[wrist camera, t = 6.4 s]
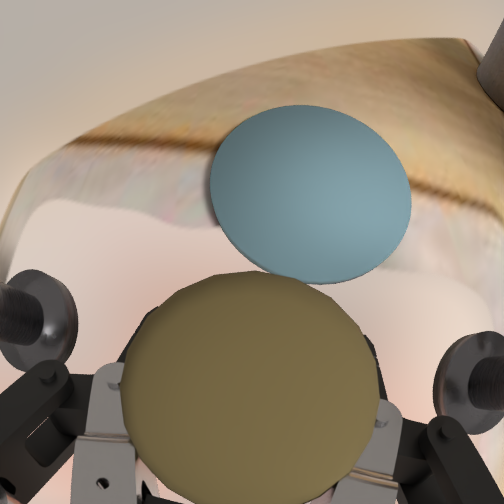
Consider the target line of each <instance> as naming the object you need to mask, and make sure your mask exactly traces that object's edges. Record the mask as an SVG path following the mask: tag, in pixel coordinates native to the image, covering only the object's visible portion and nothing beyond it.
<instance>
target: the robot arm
mask: <svg viewBox="0 0 504 504" xmlns="http://www.w3.org/2000/svg"><path fill="white" fill-rule="evenodd" d="M157 308H158V306H157V307H155V308H154V309H152V310H151V311H150V312H148V313H147V314H146V315H145V317H144V318H143V320H142V321H141V323H140V325H139V326H138V328H137V329H136V331H135V333H134V334H133V336H132V337H131V339H130V340H129V342H128V344H127V345H126V347H125V349H124V350H123V352H122V353H121V355H120V357H119V358H118V360H117V362H116V363H110V364H106V365H104V366H103V367H101V368H100V369H99V370H98V371H97V372H96V373H95V374H92V375H87V374H85V375H84V374H70V373H69V371H68V369H67V367H66V365H65V364H64V363H62V362H60V361H58V360H52V359H50V360H44V361H41V362H39V363H37V364H36V365H35V366H33V367H32V368H31V369H30V370H28V371H27V372H26V373H25V374H24V375H23V376H21V377H20V378H19V379H18V380H16V381H15V382H14V383H13V384H12V385H11V386H9V387H8V388H7V389H6V390H5V391H3V392H2V393H1V394H0V504H27V503H28V502H29V501H30V500H31V499H32V498H33V497H34V496H35V494H37V493H38V491H39V490H40V489H41V488H42V487H43V486H44V485H45V484H46V483H47V482H48V481H49V479H51V477H52V476H53V475H54V474H55V473H56V472H57V471H58V470H59V469H60V468H61V467H62V466H63V465H64V463H65V462H66V461H67V460H68V459H69V458H70V457H71V456H72V455H73V454H74V459H73V470H72V483H71V503H70V504H182V503H178V502H174V501H170V500H166V499H163V498H160V497H159V490H158V485H157V481H156V476H155V475H154V474H153V473H152V472H151V471H150V470H149V469H148V467H147V466H146V465H145V464H144V463H143V462H142V461H141V460H140V458H139V456H138V453H137V451H136V448H135V446H134V444H133V442H132V440H131V439H130V437H129V435H128V433H127V431H126V428H125V426H124V422H123V414H122V406H121V397H120V382H121V377H122V372H123V368H124V363H125V359H126V354H127V350H128V348H129V346H130V345H131V343H132V341H133V340H134V338H135V336H136V335H137V333H138V331H139V330H140V328H141V326H142V325H143V323H144V321H145V320H146V318H147V316H149V315H150V314H151V313H152V312H153V311H154V310H156V309H157ZM363 336H364V338H365V340H366V342H367V344H368V346H369V348H370V350H371V353H372V355H373V357H374V359H375V361H376V368H377V376H378V385H379V395H380V402H379V407H378V412H377V416H376V421H375V425H374V429H373V434H372V438H371V439H370V441H369V443H368V444H367V446H366V448H365V450H364V451H363V453H362V454H361V456H360V458H359V459H358V461H357V462H356V464H355V466H354V467H353V469H352V470H351V471H350V472H349V473H347V474H346V475H345V476H344V477H342V478H341V479H340V480H339V481H338V482H337V483H336V484H335V485H334V486H333V487H332V488H331V489H329V490H328V491H327V492H326V493H325V494H323V495H322V496H321V497H319V498H317V499H314V500H312V501H311V503H310V504H395V501H396V499H397V501H398V504H504V497H503V495H502V493H501V491H500V490H499V488H498V486H497V484H496V482H495V480H494V479H493V477H492V475H491V473H490V472H489V470H488V468H487V466H486V465H485V463H484V461H483V459H482V458H481V456H480V454H479V453H478V451H477V449H476V448H475V446H474V444H473V443H472V441H471V439H470V438H469V436H468V435H467V433H466V431H465V430H464V428H463V427H462V425H461V424H460V423H459V422H458V421H457V420H456V419H454V418H452V417H450V416H445V415H441V416H437V417H435V418H433V419H432V420H431V421H430V422H429V423H428V424H424V423H420V422H415V421H411V420H408V419H405V418H403V417H402V415H401V413H400V411H399V409H398V408H397V407H396V406H395V405H394V404H392V403H391V402H389V401H388V399H387V394H386V390H385V386H384V382H383V378H382V374H381V370H380V367H379V363H378V359H377V358H376V357H377V355H376V352H375V348H374V345H373V344H372V343H371V341H370V340H369V339H368V337H367V336H366V335H363ZM47 417H49V418H47ZM40 424H41V425H40ZM39 425H40V426H39ZM38 426H39V427H38ZM37 427H38V428H37ZM36 428H37V429H36ZM35 429H36V430H35ZM34 430H35V431H34ZM33 431H34V432H33ZM32 432H33V433H32ZM31 433H32V434H31ZM30 434H31V435H30ZM29 435H30V436H29ZM28 436H29V437H28ZM27 437H28V438H27Z"/></svg>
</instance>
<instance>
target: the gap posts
mask: <svg viewBox="0 0 504 504" xmlns="http://www.w3.org/2000/svg"><path fill="white" fill-rule="evenodd" d="M77 334H78V314H77V309H76V305H75V302H74V299H73V297H72V295H71V293H70V292H69V290H68V289H67V288H66V286H65V285H64V284H63V283H61V282H60V281H59V280H57V279H55V278H53V277H51V276H49V275H47V274H45V273H43V272H41V271H39V270H33V269H32V270H25V271H22V272H20V273H18V274H16V275H15V276H14V277H13V278H11V280H10V281H9V282H8V283H7V284H4V283H2V282H0V350H1V352H2V353H3V355H4V357H5V358H6V360H7V361H8V362H9V363H10V364H11V365H12V366H13V367H15V368H16V369H18V370H21V371H24V372H27V371H28V370H30V369H31V368H32V367H33V366H35V365H36V364H37V363H39V362H41V361H44V360H50V359H52V360H58V361H60V362H62V363H65V362H66V361H67V360H68V358H69V357H70V355H71V353H72V351H73V349H74V346H75V343H76V339H77ZM433 403H434V407H435V411H436V414H437V416H441V415H445V416H450V417H452V418H454V419H456V420H457V421H458V422H459V423H460V424H461V425H462V427H463V428H464V430H465V431H466V433H467V434H470V435H476V434H481V433H484V432H486V431H488V430H490V429H492V428H493V427H494V426H495V425H497V424H498V423H499V422H500V420H501V419H502V418H503V417H504V336H502V335H501V334H499V333H497V332H494V331H485V332H480V333H476V334H471V335H467V336H464V337H462V338H460V339H458V340H457V341H456V342H455V343H453V344H452V345H451V346H450V347H449V348H448V350H447V351H446V353H445V354H444V356H443V357H442V359H441V361H440V363H439V365H438V368H437V371H436V374H435V378H434V384H433Z"/></svg>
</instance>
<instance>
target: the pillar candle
mask: <svg viewBox="0 0 504 504" xmlns="http://www.w3.org/2000/svg"><path fill="white" fill-rule="evenodd" d="M477 78H478V81H479V82H480V84H481V86H482V87H483V89H484V90H485V92H486V93H487V94H488V95H489V96H490V98H491V99H493V101H494V102H495V103H496V104H497V105H498V106H499V107H500V108H501V109H502V110H504V19H503V21H502V23H501V25H500V27H499V29H498V31H497V33H496V35H495V37H494V39H493V41H492V43H491V44H490V47H489V48H488V51H487V52H486V54H485V56H484V58H483V60H482V62H481V64H480V65H479V67H478V70H477Z"/></svg>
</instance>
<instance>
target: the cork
mask: <svg viewBox="0 0 504 504" xmlns="http://www.w3.org/2000/svg"><path fill="white" fill-rule="evenodd" d="M120 397H121V406H122V414H123V422H124V426H125V428H126V431H127V433H128V435H129V437H130V439H131V440H132V442H133V444H134V446H135V448H136V451H137V453H138V456H139V458H140V460H141V461H142V462H143V463H144V464H145V465H146V466H147V467H148V469H149V470H150V471H151V472H152V473H153V474H154V475H155V476H156V477H157V478H158V479H159V480H160V481H161V482H162V483H163V484H164V485H165V486H166V487H167V488H168V489H170V490H171V491H173V492H175V493H177V494H178V495H180V496H182V497H184V498H186V499H187V500H189V501H191V502H193V503H195V504H305V503H307V502H310V501H312V500H314V499H317V498H319V497H321V496H322V495H323V494H325V493H326V492H327V491H328V490H329V489H331V488H332V487H333V486H334V485H335V484H336V483H337V482H338V481H339V480H340V479H341V478H342V477H344V476H345V475H346V474H347V473H349V472H350V471H351V470H352V469H353V467H354V466H355V464H356V462H357V461H358V459H359V458H360V456H361V454H362V453H363V451H364V450H365V448H366V446H367V444H368V443H369V441H370V439H371V438H372V434H373V429H374V425H375V421H376V416H377V412H378V407H379V402H380V395H379V385H378V376H377V368H376V361H375V359H374V357H373V355H372V353H371V350H370V348H369V346H368V344H367V342H366V340H365V338H364V336H363V334H362V332H361V330H360V328H359V326H358V325H357V324H356V323H355V322H354V321H353V320H352V319H351V318H350V316H349V315H347V313H345V311H344V310H343V309H342V308H341V307H340V306H339V305H338V304H337V303H336V302H335V301H334V300H333V299H332V298H331V297H329V296H327V295H325V294H324V293H322V292H320V291H318V290H316V289H314V288H312V287H310V286H309V285H307V284H305V283H303V282H301V281H299V280H297V279H296V278H291V277H286V276H280V275H275V274H270V273H265V272H260V271H247V272H237V273H229V274H219V275H213V276H211V277H208V278H206V279H204V280H201V281H199V282H197V283H194V284H192V285H190V286H187V287H185V288H183V289H180V290H178V291H177V292H175V293H174V294H173V295H172V296H171V297H169V298H168V299H167V300H166V301H165V302H164V303H163V304H161V305H160V306H159V307H158V308H157V309H156V310H154V311H153V312H152V313H151V314H150V315H149V316H147V318H146V320H145V321H144V323H143V325H142V326H141V328H140V330H139V331H138V333H137V335H136V336H135V338H134V340H133V341H132V343H131V345H130V346H129V348H128V350H127V354H126V359H125V363H124V368H123V372H122V377H121V382H120Z"/></svg>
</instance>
